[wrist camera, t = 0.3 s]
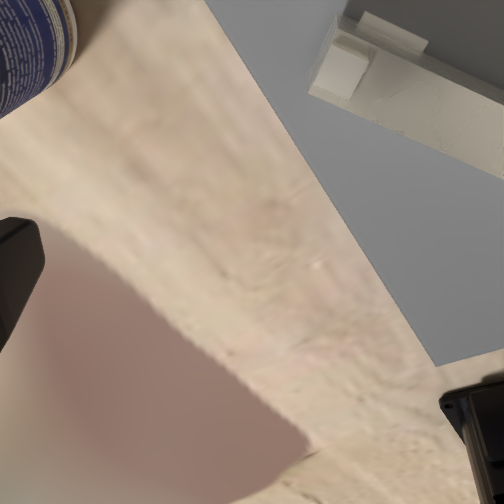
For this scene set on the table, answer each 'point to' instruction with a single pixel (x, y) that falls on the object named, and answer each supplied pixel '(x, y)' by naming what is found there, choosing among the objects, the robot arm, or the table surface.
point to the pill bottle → (33, 48)
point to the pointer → (410, 94)
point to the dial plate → (395, 159)
